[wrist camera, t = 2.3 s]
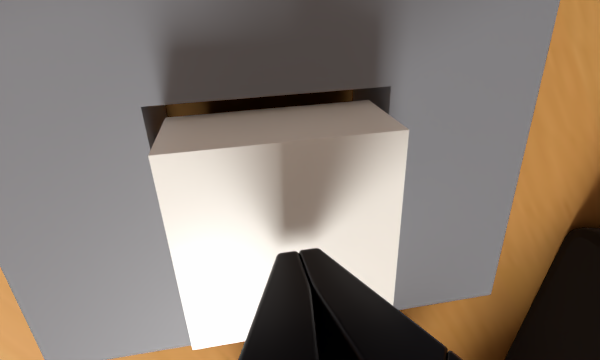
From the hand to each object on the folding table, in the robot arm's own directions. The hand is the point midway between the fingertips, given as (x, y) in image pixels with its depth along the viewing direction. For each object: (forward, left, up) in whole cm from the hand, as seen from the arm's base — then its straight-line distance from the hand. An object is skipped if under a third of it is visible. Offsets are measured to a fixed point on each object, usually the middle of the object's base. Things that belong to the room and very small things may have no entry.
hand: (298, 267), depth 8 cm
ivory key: (0, 0, -3) cm, 3 cm away
